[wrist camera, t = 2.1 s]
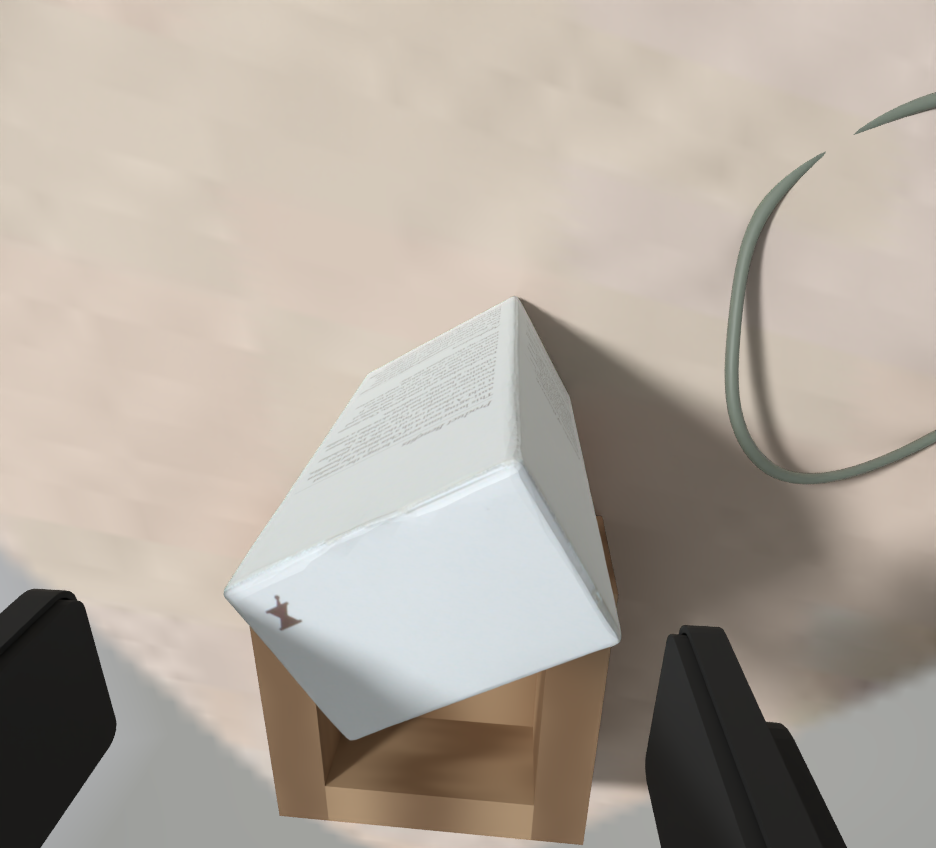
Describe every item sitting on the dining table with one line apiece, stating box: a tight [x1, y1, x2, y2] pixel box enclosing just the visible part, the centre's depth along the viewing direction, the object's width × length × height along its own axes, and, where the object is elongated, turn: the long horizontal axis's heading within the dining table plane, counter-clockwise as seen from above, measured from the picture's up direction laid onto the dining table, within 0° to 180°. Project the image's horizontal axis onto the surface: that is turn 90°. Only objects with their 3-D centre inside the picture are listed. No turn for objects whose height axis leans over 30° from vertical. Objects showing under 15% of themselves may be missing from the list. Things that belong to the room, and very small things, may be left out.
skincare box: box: [224, 296, 621, 740], centre depth 16 cm, size 6×4×12 cm
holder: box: [250, 516, 618, 845], centre depth 24 cm, size 12×12×4 cm
